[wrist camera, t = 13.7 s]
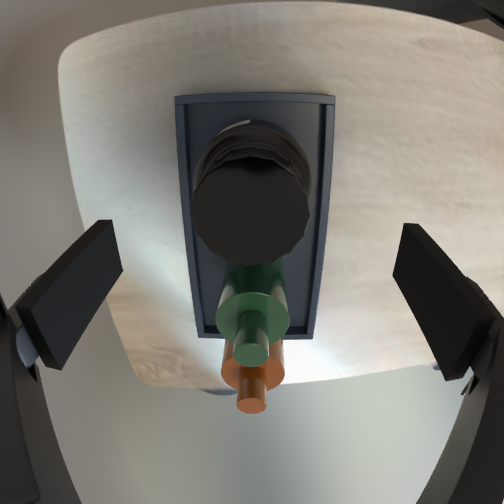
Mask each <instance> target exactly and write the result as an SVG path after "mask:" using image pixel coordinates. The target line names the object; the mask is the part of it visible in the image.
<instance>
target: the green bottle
mask: <svg viewBox="0 0 504 504" xmlns="http://www.w3.org/2000/svg"><path fill="white" fill-rule="evenodd" d="M215 318H216V325H217V328H218V330H219V332H220V333H221V335H222V336H223V337H224V338H226V339H227V340H228V341H230V342H231V343H233V344H234V349H233V357H234V359H235V361H236V362H237V363H239V364H240V365H242V366H246V367H257V366H260V365H262V364H264V363H265V362H266V361H267V360H268V357H269V345H271V344H273V343H275V342H277V341H278V340H280V339H281V338H282V337H283V336H284V335H285V333H286V332H287V330H288V327H289V323H290V317H289V307H288V297H287V287H286V278H285V268H284V259H283V256H282V257H281V258H279V259H277V260H275V261H274V262H272V263H265V264H258V265H254V266H247V265H244V264H238V263H234V262H232V263H231V262H228V261H226V266H225V271H224V276H223V281H222V286H221V291H220V296H219V301H218V306H217V312H216V317H215Z"/></svg>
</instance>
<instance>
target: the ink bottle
mask: <svg viewBox="0 0 504 504" xmlns="http://www.w3.org/2000/svg"><path fill="white" fill-rule="evenodd" d="M312 189H313V175H312V169H311V165H310V163H309V160H308V158H307V156H306V154H305V153H304V151H303V150H302V148H301V147H300V145H299V144H298V142H297V141H296V140H295V138H294V137H293V136H292V135H291V134H290V133H289V132H288V131H286V130H285V129H283V128H282V127H280V126H278V125H276V124H274V123H271V122H268V121H263V120H244V121H240V122H237V123H234V124H232V125H230V126H229V127H227V128H225V129H224V130H222V131H221V132H220V133H219V135H218V136H216V137H215V138H213V140H212V141H211V142H210V143H209V144H208V146H207V147H206V148H205V150H204V151H203V153H202V155H201V156H200V158H199V161H198V163H197V166H196V170H195V176H194V193H193V196H194V198H193V204H192V210H191V216H192V218H193V222H194V225H195V228H196V233H197V235H198V237H200V238H201V240H202V241H203V242H204V243H205V245H206V246H207V247H208V249H209V250H210V251H211V252H212V253H215V254H217V255H218V256H220V257H222V258H224V259H225V260H226V261H228V262H231V263H232V262H234V263H238V264H244V265H247V266H254V265H258V264H265V263H272V262H274V261H275V260H277V259H279V258H281V257H282V256H284V255H286V254H289V253H290V252H291V251H292V250H293V248H294V247H295V246H296V245H297V243H298V242H299V241H300V240H301V239H302V238H303V237H304V235H305V230H306V227H307V223H308V219H309V218H310V211H309V205H308V204H309V202H310V199H311V195H312Z"/></svg>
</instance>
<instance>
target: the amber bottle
mask: <svg viewBox="0 0 504 504" xmlns="http://www.w3.org/2000/svg"><path fill="white" fill-rule="evenodd" d="M233 349H234V344H233V343H231V342H230V341H228V340H227V339H225V346H224V353H223V360H222V368H221V375H222V378H223V379H224V381H225V382H226V383H227V384H228V385H229V386H231V387H233V388H235V389H237V390H238V395H237V407H238V409H239V410H240V411H242V412H244V413H249V414H255V413H260V412H262V411H264V410H265V409H266V395H267V391H268V390H270V389H273V388H275V387H276V386H278V385H279V384H280V383H281V382H282V380H283V378H284V375H285V368H284V351H283V337H282V338H281V339H280V340H278V341H277V342H275V343H273V344H271V345H269V357H268V360H267V361H266V362H265V363H264V364H262V365H260V366H257V367H246V366H242V365H240V364H239V363H237V362H236V361H235V359H234V357H233Z"/></svg>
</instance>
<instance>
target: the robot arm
mask: <svg viewBox="0 0 504 504" xmlns="http://www.w3.org/2000/svg"><path fill="white" fill-rule="evenodd" d="M122 272H123V269H122V265H121V260H120V256H119V251H118V247H117V242H116V237H115V232H114V227H113V222H112V220H98V221H97V222H95V223H94V224H93V225H92V226H91V227H90V228H89V229H88V230H87V231H86V232H85V233H84V234H83V235H82V236H81V237H80V238H79V239H78V240H76V241H75V242H74V243H73V244H72V245H71V246H70V247H69V248H68V249H67V250H66V251H65V252H64V253H63V254H62V255H61V256H60V257H59V258H58V259H57V260H56V261H55V263H54V264H53V265H52V266H51V267H50V268H49V269H48V270H47V271H46V272H45V273H43V274H42V275H40V276H39V277H37V278H36V279H35V281H34V282H33V283H32V284H31V286H29V287H28V288H27V289H26V290H25V292H24V293H23V294H22V295H21V296H20V297H19V298H18V299H17V300H16V302H15V303H14V304H13V305H12V306H11V307H10V309H9V310H7V308H6V305H5V303H4V301H3V299H2V296H1V294H0V504H82V503H81V501H80V499H79V497H78V494H77V492H76V490H75V487H74V485H73V483H72V480H71V478H70V475H69V472H68V470H67V467H66V465H65V462H64V459H63V457H62V454H61V451H60V448H59V445H58V442H57V439H56V435H55V432H54V429H53V425H52V422H51V419H50V415H49V411H48V407H47V404H46V399H45V396H44V392H43V387H42V382H41V378H40V373H39V368H38V366H37V364H36V363H35V361H36V359H37V358H38V356H40V357H41V359H42V361H43V363H44V364H45V366H46V367H49V368H53V369H57V370H62V368H63V366H64V365H65V363H66V361H67V359H68V358H69V356H70V354H71V353H72V351H73V349H74V347H75V346H76V344H77V342H78V341H79V339H80V337H81V336H82V334H83V332H84V331H85V329H86V327H87V326H88V324H89V322H90V321H91V319H92V318H93V316H94V314H95V313H96V311H97V310H98V308H99V306H100V305H101V304H102V302H103V300H104V299H105V297H106V296H107V294H108V293H109V291H110V290H111V288H112V287H113V285H114V284H115V282H116V281H117V279H118V278H119V276H120V275H121V273H122ZM392 276H393V278H394V279H395V281H396V283H397V285H398V286H399V288H400V290H401V292H402V294H403V296H404V297H405V299H406V301H407V303H408V305H409V307H410V309H411V311H412V312H413V314H414V316H415V318H416V320H417V322H418V324H419V326H420V328H421V330H422V332H423V334H424V336H425V338H426V340H427V342H428V344H429V346H430V348H431V350H432V352H433V355H434V357H435V359H436V361H437V363H438V365H439V367H440V370H441V372H442V374H443V376H444V379H445V381H450V380H455V379H460V378H463V376H464V375H465V373H466V372H467V370H468V368H469V367H471V368H472V370H473V372H474V374H473V376H472V377H471V379H470V381H469V382H468V384H467V385H466V387H465V388H464V390H463V391H462V393H461V395H464V393H465V392H466V393H465V396H464V399H463V402H462V405H461V408H460V411H459V413H458V416H457V419H456V421H455V424H454V427H453V429H452V431H451V434H450V436H449V439H448V441H447V443H446V446H445V448H444V450H443V452H442V455H441V457H440V459H439V461H438V463H437V465H436V467H435V469H434V471H433V473H432V475H431V477H430V479H429V481H428V483H427V485H426V487H425V489H424V491H423V492H422V494H421V496H420V498H419V499H418V501H417V503H416V504H502V502H503V499H504V318H503V317H502V315H501V314H500V312H499V311H498V310H497V308H496V307H495V306H494V305H493V303H492V302H491V301H490V300H489V298H488V297H487V296H486V294H484V292H483V291H482V289H481V288H480V287H479V286H478V284H477V283H475V282H474V281H473V280H471V279H470V278H468V277H465V276H464V275H463V273H462V272H461V271H460V270H459V269H458V267H457V266H456V265H455V264H454V263H453V262H452V260H451V259H450V258H449V257H448V256H447V255H446V253H445V252H444V251H443V250H442V249H441V248H440V247H439V246H438V244H437V243H436V242H435V241H434V240H433V239H432V238H431V237H430V236H429V235H428V234H427V232H426V231H425V230H424V229H423V228H422V227H421V226H420V225H419V224H414V223H404V225H403V230H402V235H401V240H400V245H399V249H398V254H397V258H396V262H395V267H394V271H393V275H392Z"/></svg>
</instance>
